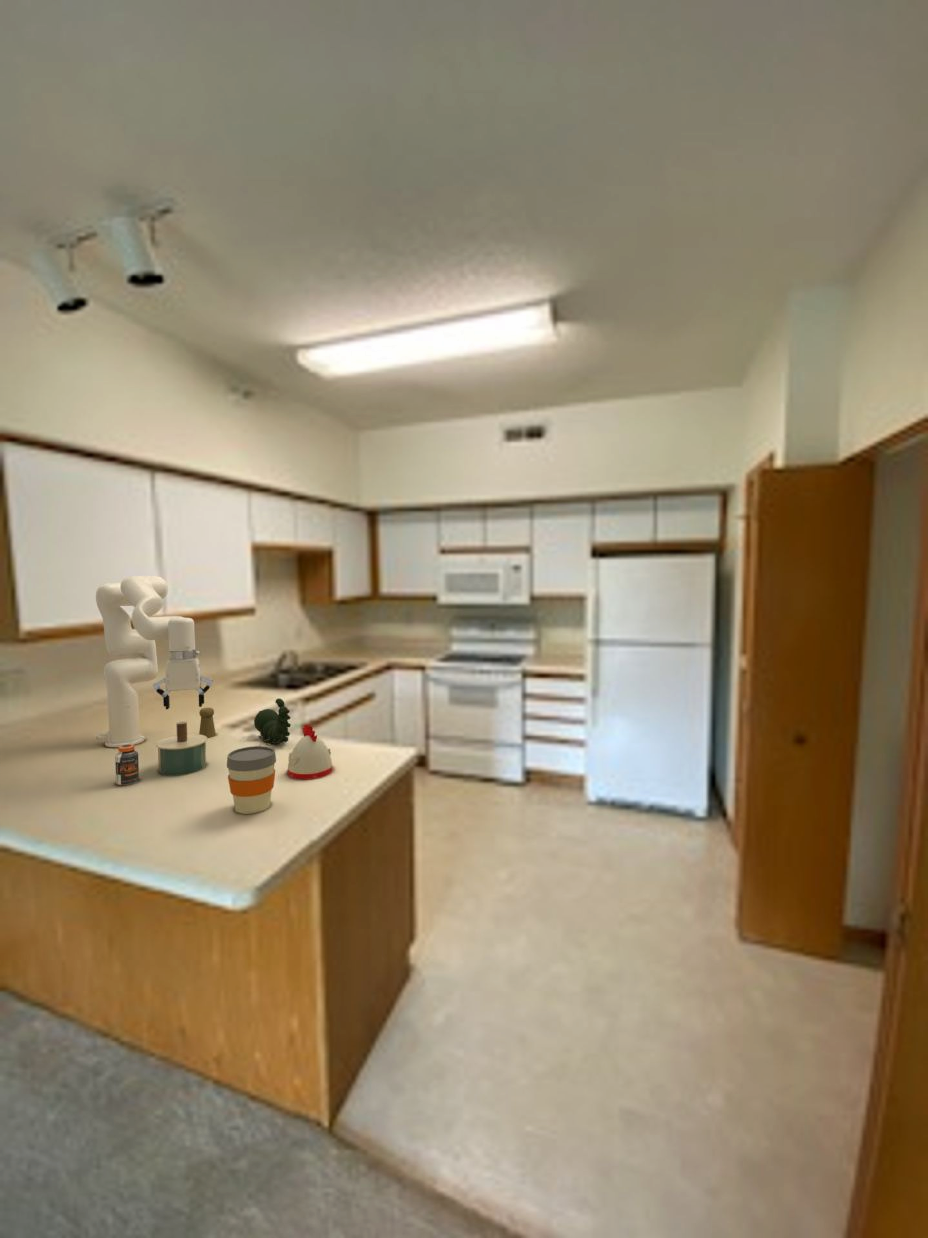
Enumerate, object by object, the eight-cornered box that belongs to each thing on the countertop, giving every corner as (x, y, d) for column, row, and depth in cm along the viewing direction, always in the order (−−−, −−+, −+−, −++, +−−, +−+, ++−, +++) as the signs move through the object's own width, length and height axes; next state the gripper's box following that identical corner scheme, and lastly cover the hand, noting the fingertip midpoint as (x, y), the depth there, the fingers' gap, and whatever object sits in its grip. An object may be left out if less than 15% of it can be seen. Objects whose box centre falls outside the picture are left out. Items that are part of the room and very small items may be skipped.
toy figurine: (296, 749, 197) (271, 728, 215) (298, 701, 194) (271, 684, 213) (271, 755, 191) (247, 733, 209) (272, 704, 188) (248, 687, 206)
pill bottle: (119, 787, 156) (118, 750, 155) (113, 782, 160) (111, 745, 159) (142, 781, 160) (140, 745, 160) (135, 776, 164) (134, 741, 164)
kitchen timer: (319, 760, 180) (318, 718, 179) (340, 771, 171) (340, 726, 170) (280, 770, 171) (279, 725, 170) (300, 782, 161) (299, 735, 160)
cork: (208, 738, 204) (208, 710, 203) (195, 737, 205) (194, 709, 204) (219, 733, 210) (218, 706, 209) (205, 732, 211) (205, 705, 210)
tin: (155, 777, 164) (154, 751, 163) (163, 763, 177) (162, 738, 176) (203, 772, 169) (203, 746, 168) (207, 758, 181) (207, 734, 181)
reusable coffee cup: (227, 820, 136) (226, 763, 135) (228, 801, 147) (226, 749, 146) (278, 812, 141) (277, 757, 140) (275, 794, 152) (274, 743, 151)
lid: (152, 753, 163) (151, 731, 162) (160, 739, 176) (160, 719, 176) (204, 748, 168) (204, 726, 167) (209, 735, 182) (208, 715, 181)
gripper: (212, 652, 178) (214, 702, 179) (154, 655, 171) (156, 707, 173) (210, 655, 171) (212, 707, 172) (149, 658, 164) (152, 712, 166)
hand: (184, 707), depth 172 cm, fingers open, 9 cm apart
